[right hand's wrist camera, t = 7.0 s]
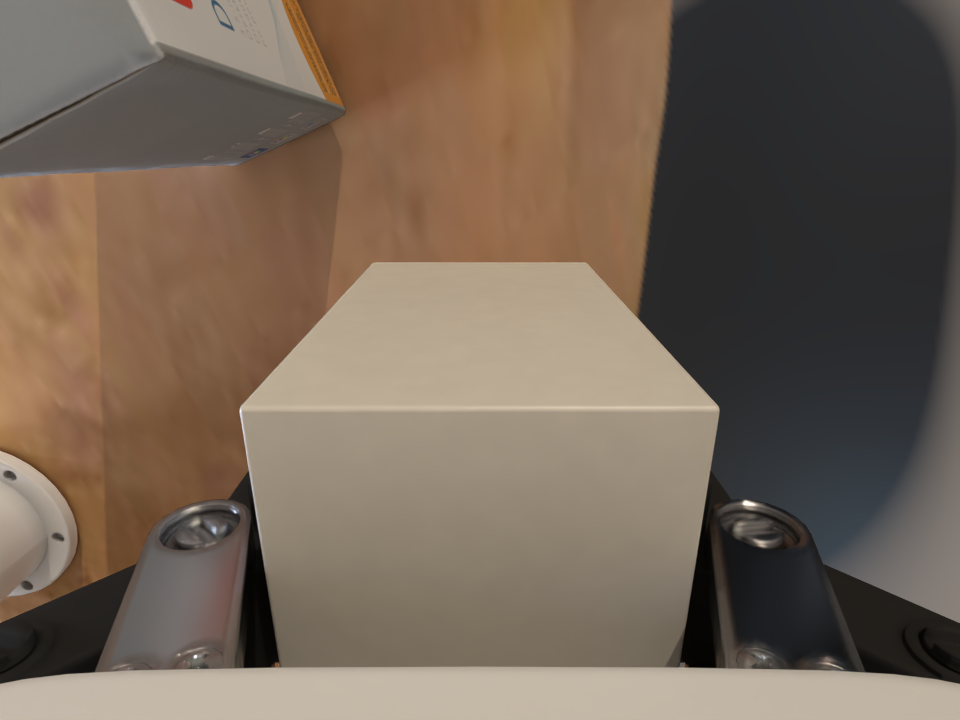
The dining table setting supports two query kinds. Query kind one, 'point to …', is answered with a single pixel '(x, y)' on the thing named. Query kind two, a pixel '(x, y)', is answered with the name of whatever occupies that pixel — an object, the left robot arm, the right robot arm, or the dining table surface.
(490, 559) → the block
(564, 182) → the dining table surface
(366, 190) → the dining table surface
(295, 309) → the dining table surface
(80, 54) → the hard drive box
